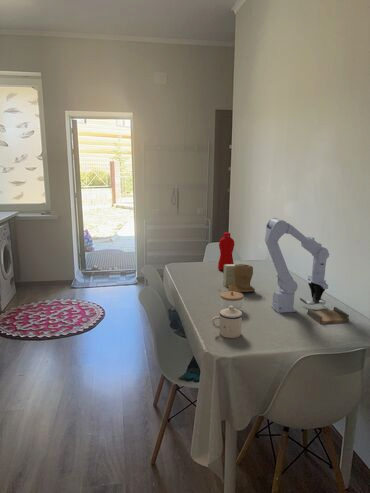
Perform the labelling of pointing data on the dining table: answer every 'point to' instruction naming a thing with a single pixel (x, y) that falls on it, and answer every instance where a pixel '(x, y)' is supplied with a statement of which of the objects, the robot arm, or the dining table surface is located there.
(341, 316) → the stand
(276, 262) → the robot arm
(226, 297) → the lidded jar
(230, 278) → the skincare box
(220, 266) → the red bottle
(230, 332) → the teacup with lid
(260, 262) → the dining table surface
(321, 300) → the spectacles
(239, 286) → the brown boot
